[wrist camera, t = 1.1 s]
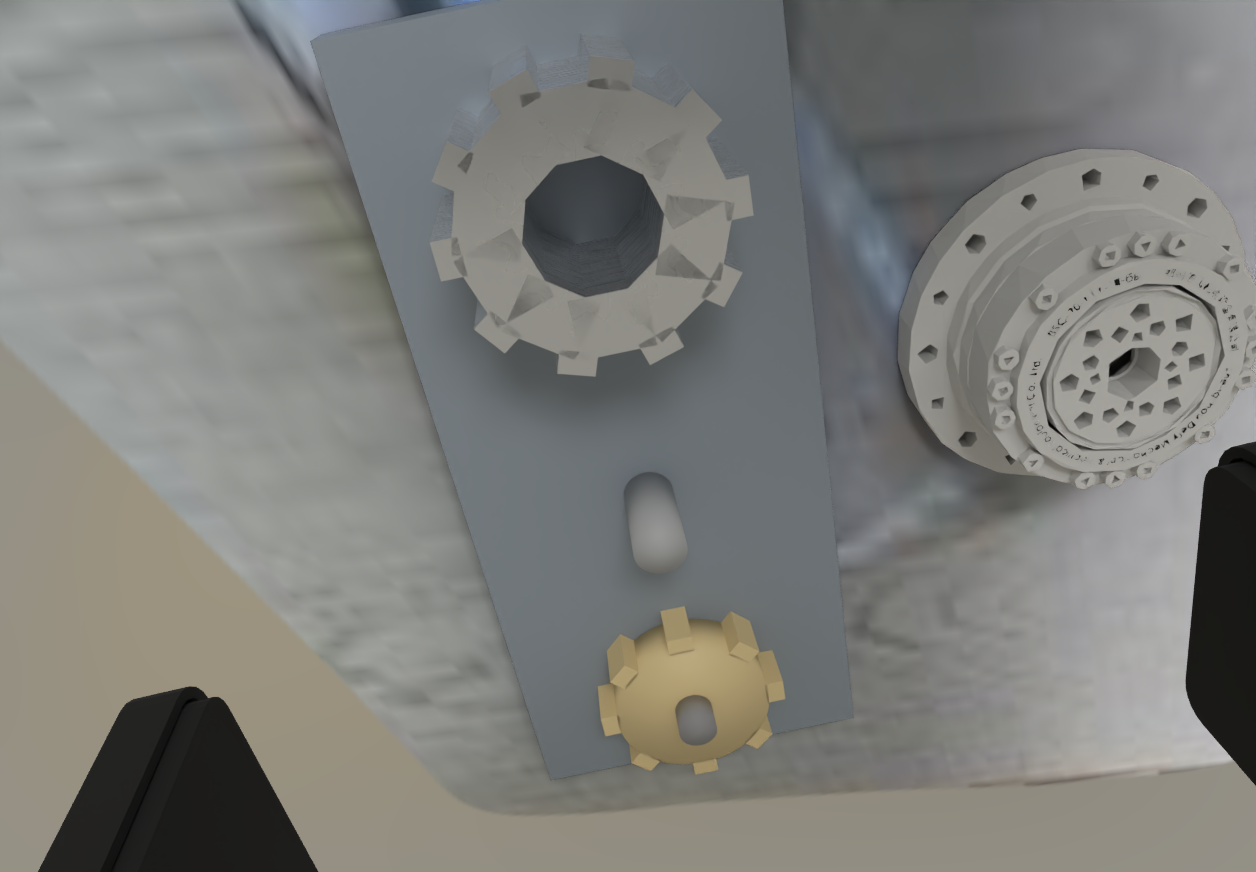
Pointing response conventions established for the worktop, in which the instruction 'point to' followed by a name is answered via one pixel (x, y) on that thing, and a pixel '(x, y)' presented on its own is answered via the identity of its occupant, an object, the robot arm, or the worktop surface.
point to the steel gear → (604, 268)
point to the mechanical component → (1080, 319)
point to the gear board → (623, 399)
